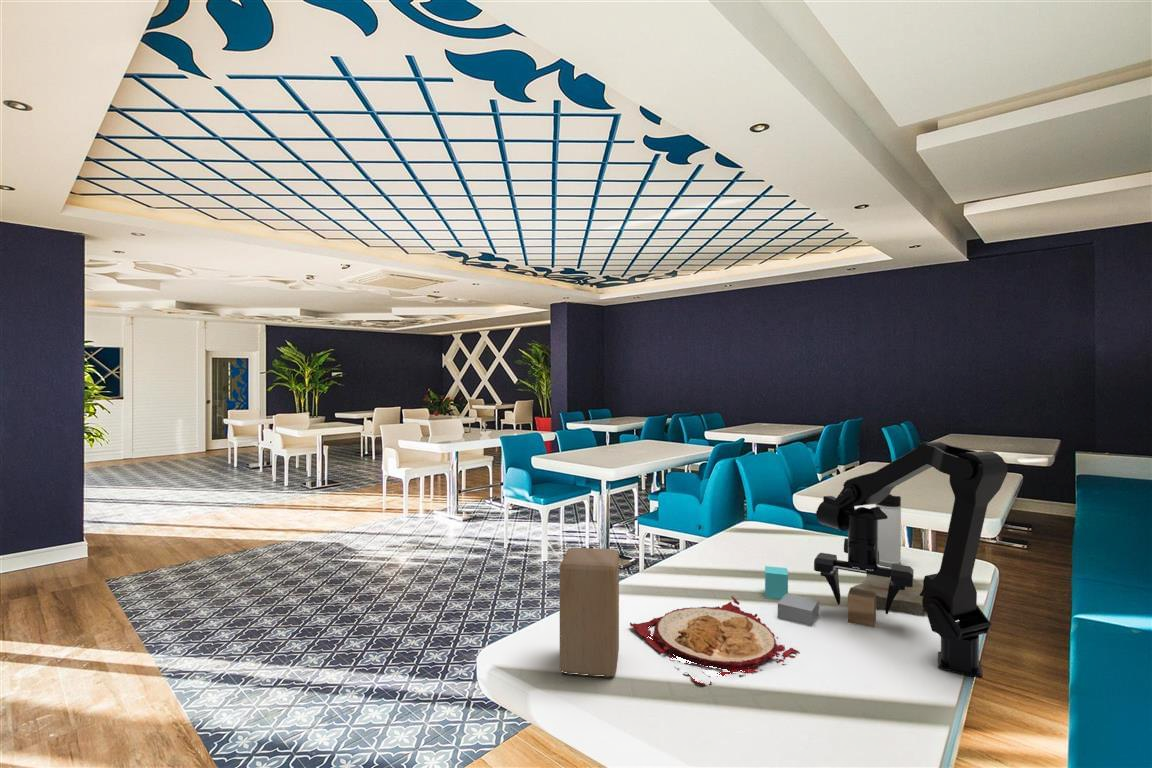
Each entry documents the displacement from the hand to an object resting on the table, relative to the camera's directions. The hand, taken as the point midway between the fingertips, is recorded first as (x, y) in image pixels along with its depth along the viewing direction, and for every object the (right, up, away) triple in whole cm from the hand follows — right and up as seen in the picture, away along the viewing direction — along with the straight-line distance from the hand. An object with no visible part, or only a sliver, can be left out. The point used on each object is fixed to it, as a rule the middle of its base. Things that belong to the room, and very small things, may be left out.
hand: (862, 608), depth 121 cm
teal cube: (-13, -3, +14) cm, 20 cm away
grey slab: (-13, -3, +2) cm, 13 cm away
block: (-59, -3, -18) cm, 62 cm away
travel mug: (+26, -2, +37) cm, 45 cm away
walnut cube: (0, -3, 0) cm, 3 cm away
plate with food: (-33, -4, -10) cm, 35 cm away
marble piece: (+12, -3, +11) cm, 17 cm away
